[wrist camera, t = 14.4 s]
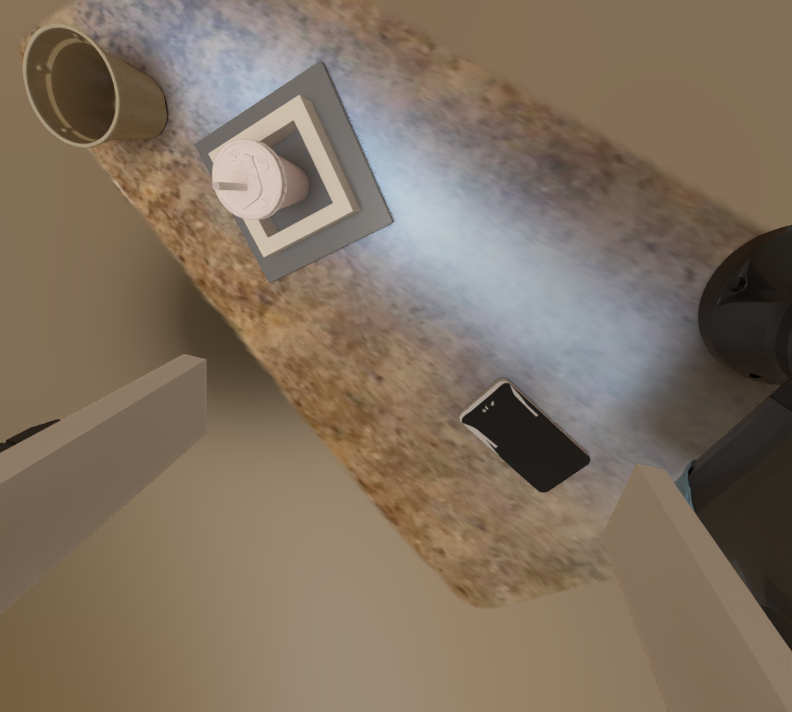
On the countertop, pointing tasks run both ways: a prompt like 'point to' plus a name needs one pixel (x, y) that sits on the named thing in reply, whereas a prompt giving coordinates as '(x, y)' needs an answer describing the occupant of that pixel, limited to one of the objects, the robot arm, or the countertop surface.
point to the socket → (324, 166)
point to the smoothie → (256, 180)
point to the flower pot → (88, 90)
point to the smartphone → (523, 436)
